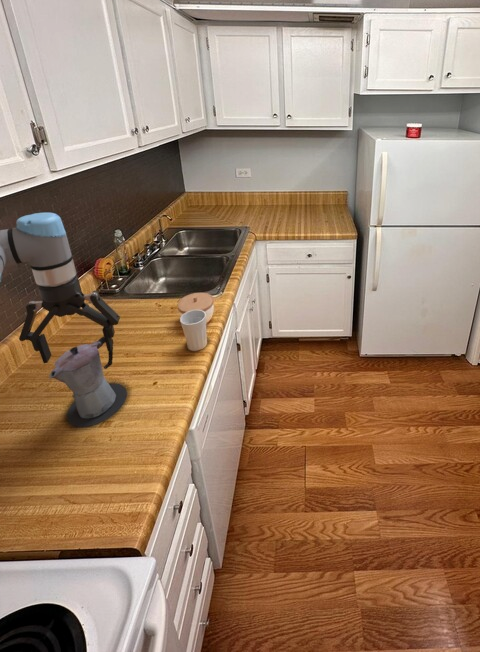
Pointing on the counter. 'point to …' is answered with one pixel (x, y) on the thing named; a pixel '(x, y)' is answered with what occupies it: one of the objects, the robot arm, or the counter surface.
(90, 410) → the moka pot
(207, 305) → the lidded bowl
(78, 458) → the counter surface
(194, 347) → the cup
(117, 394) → the trivet
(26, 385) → the counter surface
